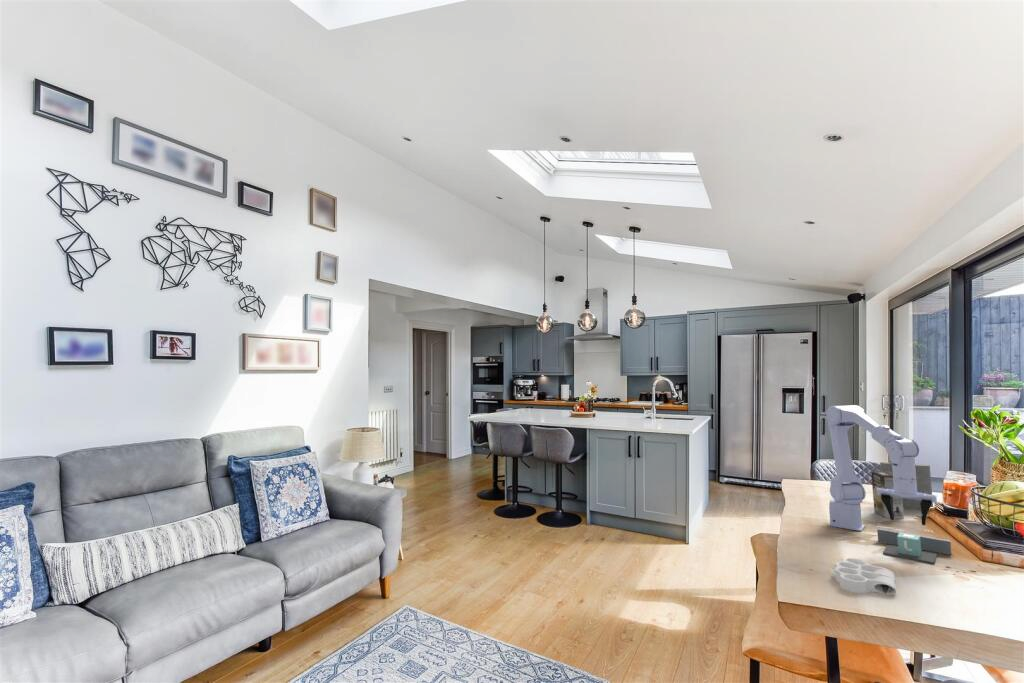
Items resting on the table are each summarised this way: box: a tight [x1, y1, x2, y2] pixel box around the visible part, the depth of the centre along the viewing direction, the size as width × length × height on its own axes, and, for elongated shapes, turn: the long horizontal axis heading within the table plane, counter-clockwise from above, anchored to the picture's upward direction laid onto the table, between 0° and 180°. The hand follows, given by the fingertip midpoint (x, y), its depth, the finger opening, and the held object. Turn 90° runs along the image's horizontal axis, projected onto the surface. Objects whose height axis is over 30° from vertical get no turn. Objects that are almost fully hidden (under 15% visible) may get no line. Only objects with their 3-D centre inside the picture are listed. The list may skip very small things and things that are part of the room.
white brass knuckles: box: [828, 557, 897, 596], centre depth 132 cm, size 3×18×15 cm
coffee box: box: [871, 470, 905, 520], centre depth 188 cm, size 9×6×16 cm
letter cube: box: [897, 531, 922, 557], centre depth 149 cm, size 5×5×5 cm
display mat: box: [882, 544, 938, 565], centre depth 149 cm, size 12×9×1 cm
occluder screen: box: [876, 527, 952, 556], centre depth 155 cm, size 18×2×4 cm, turn 45°
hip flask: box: [879, 461, 934, 511], centre depth 197 cm, size 16×4×20 cm, turn 57°
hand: (907, 521), depth 151 cm, fingers open, 7 cm apart
